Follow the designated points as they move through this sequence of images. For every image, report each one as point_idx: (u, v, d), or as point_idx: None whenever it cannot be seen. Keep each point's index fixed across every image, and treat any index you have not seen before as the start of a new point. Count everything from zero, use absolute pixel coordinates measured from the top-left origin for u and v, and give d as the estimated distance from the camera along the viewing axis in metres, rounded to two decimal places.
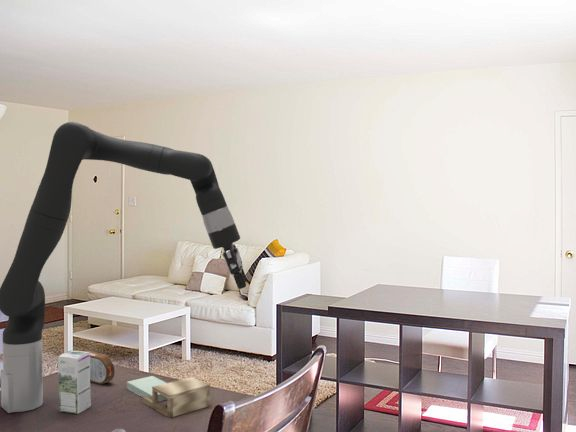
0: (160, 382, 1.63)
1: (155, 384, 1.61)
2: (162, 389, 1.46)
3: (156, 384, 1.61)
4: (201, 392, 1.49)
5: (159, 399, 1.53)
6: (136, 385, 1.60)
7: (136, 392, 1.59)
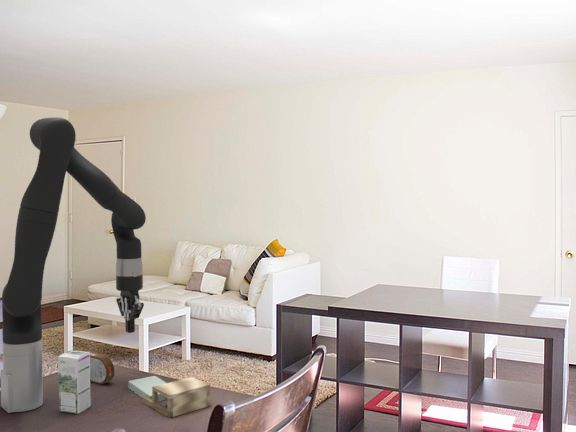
0: (160, 382, 1.63)
1: (155, 384, 1.61)
2: (162, 389, 1.46)
3: (156, 384, 1.61)
4: (201, 392, 1.49)
5: None
6: (136, 385, 1.61)
7: (136, 392, 1.59)
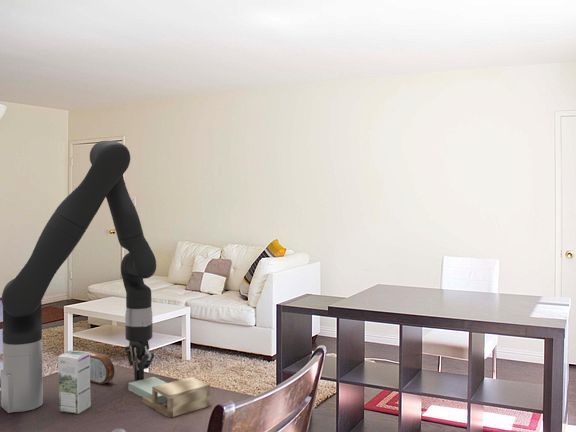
0: (162, 383, 1.62)
1: None
2: (162, 389, 1.46)
3: None
4: (201, 392, 1.49)
5: (163, 400, 1.53)
6: (138, 386, 1.59)
7: (139, 393, 1.58)
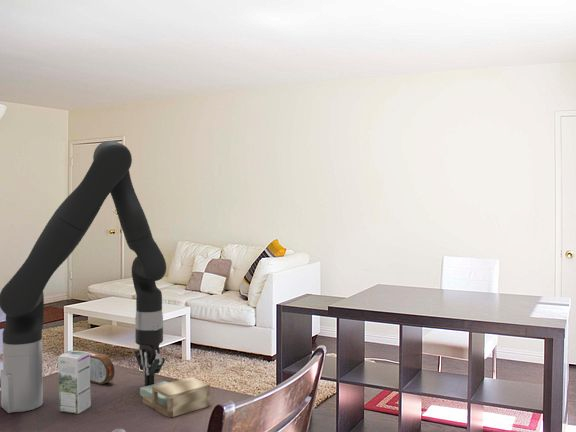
0: None
1: None
2: (162, 389, 1.46)
3: None
4: (201, 392, 1.49)
5: None
6: (151, 391, 1.55)
7: (151, 398, 1.54)
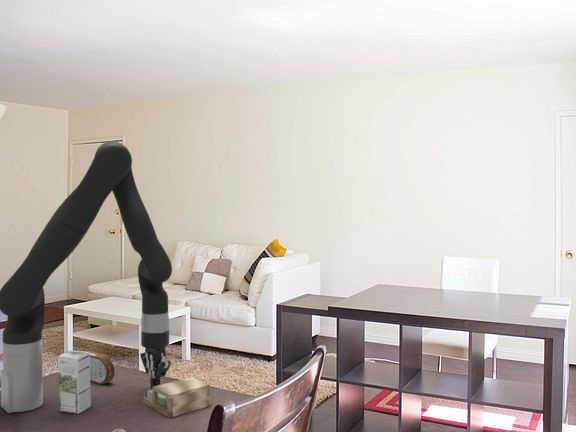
0: None
1: None
2: (162, 389, 1.46)
3: None
4: (201, 392, 1.49)
5: None
6: (158, 394, 1.53)
7: (158, 401, 1.52)
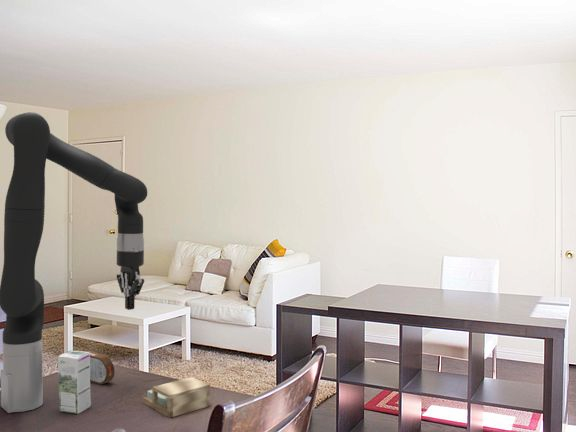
0: None
1: None
2: (162, 389, 1.46)
3: None
4: (201, 392, 1.49)
5: None
6: (158, 394, 1.53)
7: (158, 402, 1.52)
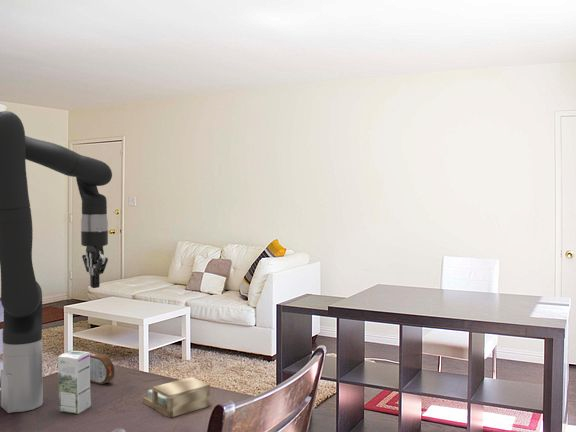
0: None
1: None
2: (162, 389, 1.46)
3: None
4: (201, 392, 1.49)
5: None
6: (158, 394, 1.53)
7: (158, 401, 1.52)
